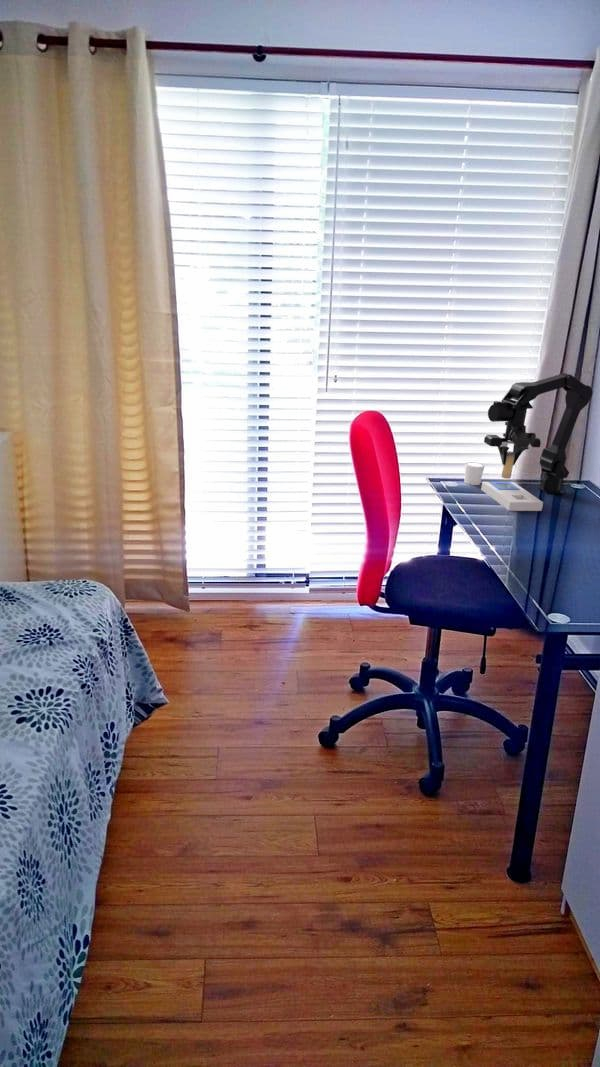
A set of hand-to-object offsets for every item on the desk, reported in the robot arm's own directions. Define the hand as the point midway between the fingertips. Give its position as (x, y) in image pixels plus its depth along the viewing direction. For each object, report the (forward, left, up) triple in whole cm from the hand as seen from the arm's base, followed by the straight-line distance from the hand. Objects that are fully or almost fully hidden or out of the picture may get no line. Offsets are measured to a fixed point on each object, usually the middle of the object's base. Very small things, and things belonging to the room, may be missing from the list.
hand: (508, 464), depth 272 cm
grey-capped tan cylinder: (0, 0, -5) cm, 4 cm away
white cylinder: (+6, -13, -11) cm, 18 cm away
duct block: (0, +6, -11) cm, 12 cm away
